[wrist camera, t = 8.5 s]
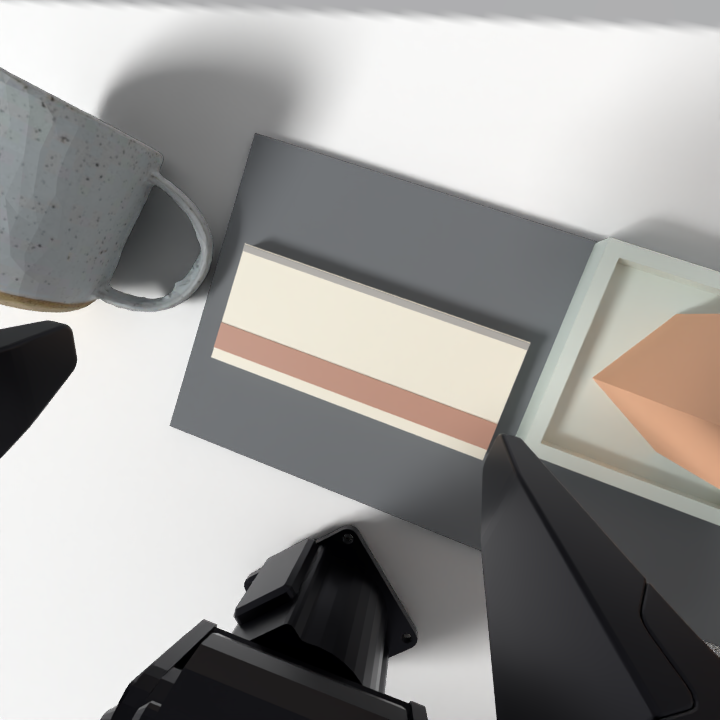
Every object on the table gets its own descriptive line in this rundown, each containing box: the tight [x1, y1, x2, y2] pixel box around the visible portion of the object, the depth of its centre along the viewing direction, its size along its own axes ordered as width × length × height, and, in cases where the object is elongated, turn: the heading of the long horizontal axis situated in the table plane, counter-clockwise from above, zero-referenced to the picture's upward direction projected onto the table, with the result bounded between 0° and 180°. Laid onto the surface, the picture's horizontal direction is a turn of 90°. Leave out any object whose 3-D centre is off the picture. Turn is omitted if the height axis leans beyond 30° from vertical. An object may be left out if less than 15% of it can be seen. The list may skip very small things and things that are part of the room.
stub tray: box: [516, 237, 720, 526], centre depth 18 cm, size 9×9×2 cm
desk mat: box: [170, 133, 720, 647], centre depth 20 cm, size 14×28×1 cm, turn 71°
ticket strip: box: [211, 243, 530, 460], centre depth 20 cm, size 5×13×1 cm, turn 71°
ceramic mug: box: [0, 67, 213, 312], centre depth 18 cm, size 11×8×8 cm
